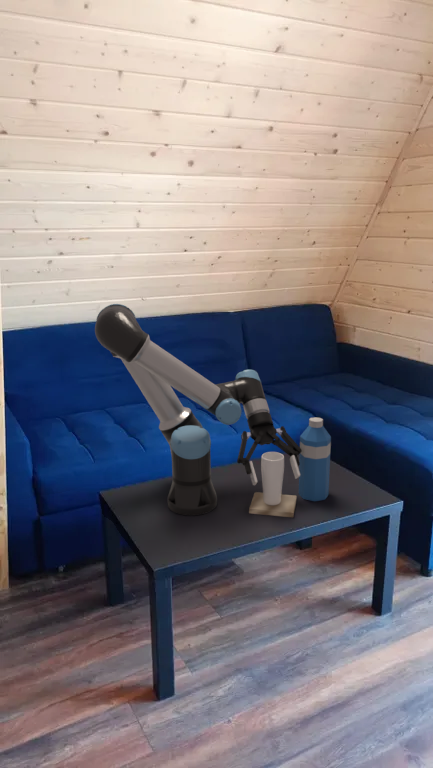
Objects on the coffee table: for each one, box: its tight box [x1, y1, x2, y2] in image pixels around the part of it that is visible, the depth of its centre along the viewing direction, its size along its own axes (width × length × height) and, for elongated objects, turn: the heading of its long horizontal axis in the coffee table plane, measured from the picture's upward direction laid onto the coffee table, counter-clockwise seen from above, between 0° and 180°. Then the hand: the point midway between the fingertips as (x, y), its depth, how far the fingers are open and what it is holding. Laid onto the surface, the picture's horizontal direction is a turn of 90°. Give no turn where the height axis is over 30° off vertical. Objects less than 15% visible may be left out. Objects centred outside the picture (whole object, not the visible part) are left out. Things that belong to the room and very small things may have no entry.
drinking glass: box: [260, 451, 285, 505], centre depth 174 cm, size 7×7×15 cm
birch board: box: [248, 491, 298, 518], centre depth 176 cm, size 13×11×2 cm
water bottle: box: [298, 417, 332, 502], centre depth 180 cm, size 9×9×25 cm
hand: (276, 480), depth 172 cm, fingers open, 13 cm apart
